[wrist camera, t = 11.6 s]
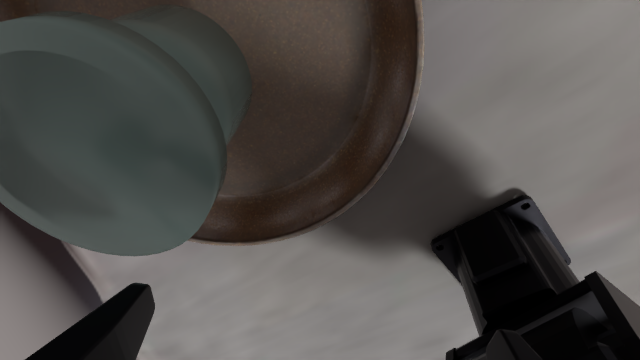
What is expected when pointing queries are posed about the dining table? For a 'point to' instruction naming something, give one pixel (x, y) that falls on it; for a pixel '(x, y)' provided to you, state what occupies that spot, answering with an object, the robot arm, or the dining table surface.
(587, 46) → the dining table surface
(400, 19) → the plant saucer
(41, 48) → the glazed flower pot
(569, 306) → the robot arm
